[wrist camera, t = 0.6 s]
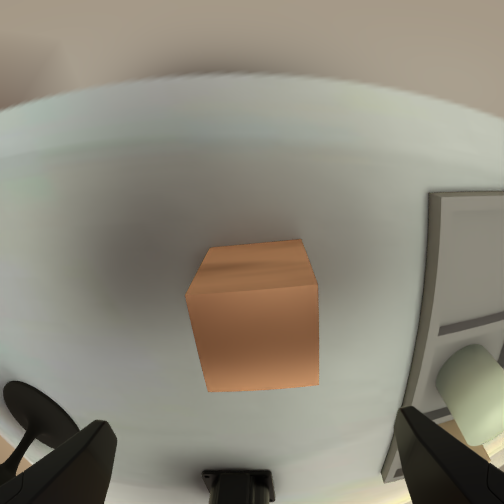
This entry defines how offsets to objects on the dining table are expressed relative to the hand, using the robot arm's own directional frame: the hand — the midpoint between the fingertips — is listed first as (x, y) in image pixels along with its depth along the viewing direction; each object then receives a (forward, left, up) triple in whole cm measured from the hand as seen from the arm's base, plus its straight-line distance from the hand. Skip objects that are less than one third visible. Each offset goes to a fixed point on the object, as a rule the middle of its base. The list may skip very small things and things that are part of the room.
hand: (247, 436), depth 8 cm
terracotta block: (0, 0, -11) cm, 11 cm away
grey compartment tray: (-9, -15, -11) cm, 21 cm away
